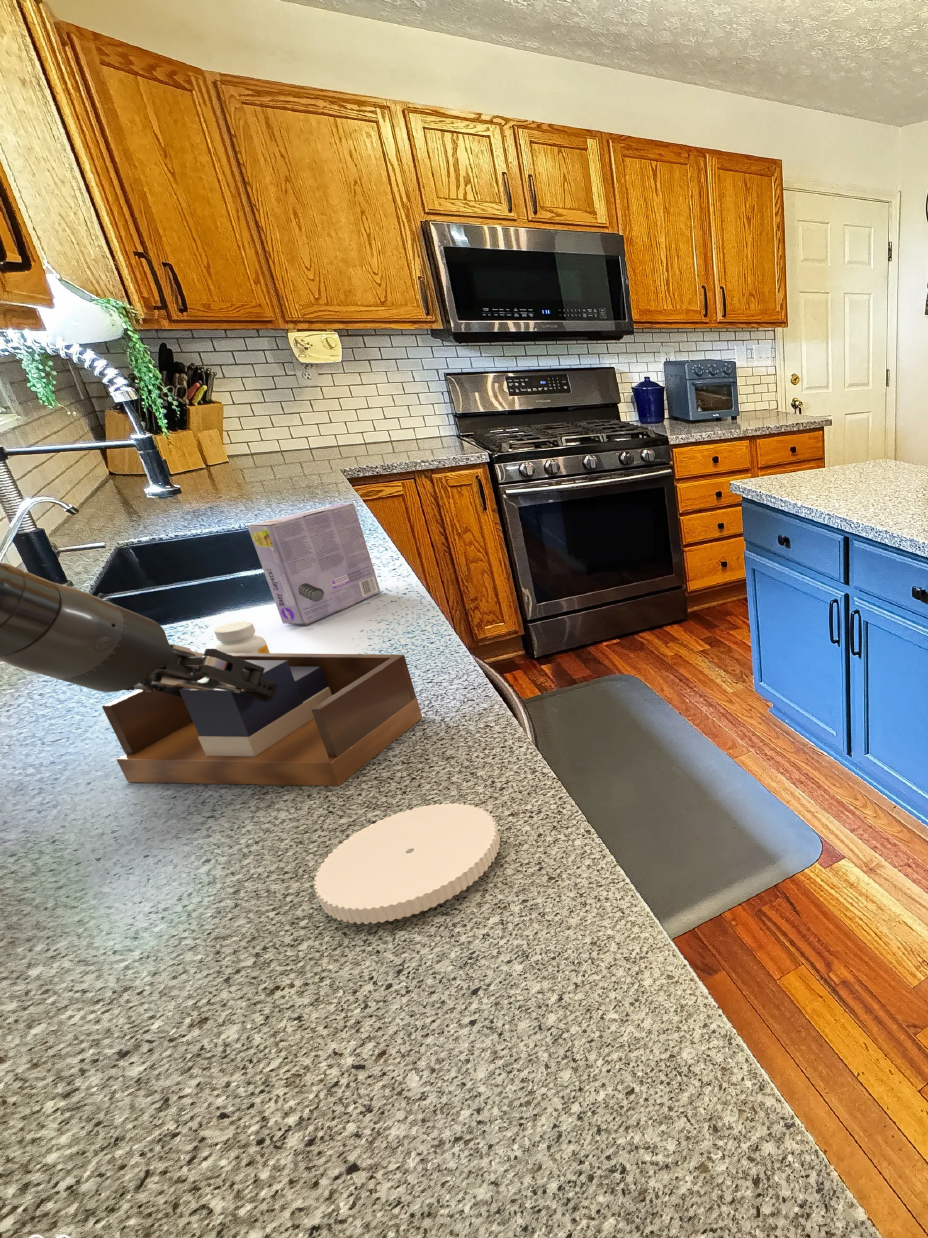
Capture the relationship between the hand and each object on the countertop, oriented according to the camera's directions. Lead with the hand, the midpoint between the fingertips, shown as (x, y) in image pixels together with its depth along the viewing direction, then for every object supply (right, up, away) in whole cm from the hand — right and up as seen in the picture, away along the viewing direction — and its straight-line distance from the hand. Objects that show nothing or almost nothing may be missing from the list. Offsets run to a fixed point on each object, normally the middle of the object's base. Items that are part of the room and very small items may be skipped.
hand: (234, 692), depth 76 cm
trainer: (0, -5, +5) cm, 7 cm away
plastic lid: (+28, -16, -13) cm, 35 cm away
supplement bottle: (-15, -1, +21) cm, 26 cm away
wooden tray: (0, -7, +7) cm, 10 cm away
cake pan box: (-27, +12, +51) cm, 59 cm away
